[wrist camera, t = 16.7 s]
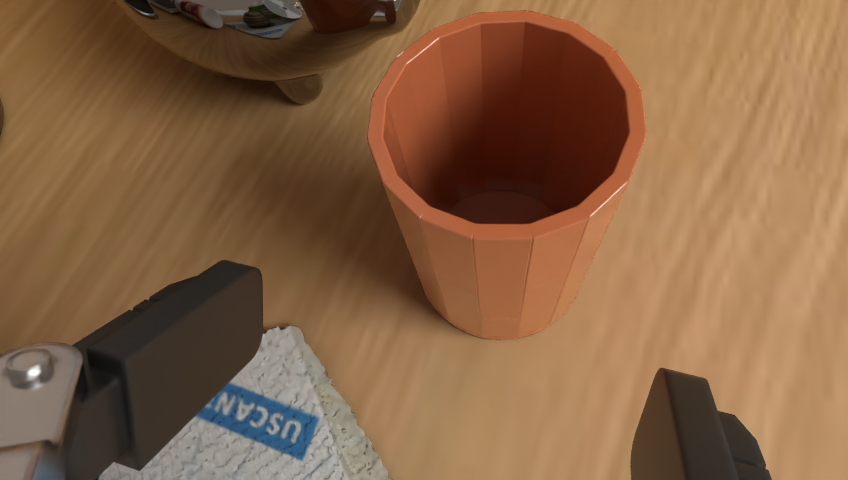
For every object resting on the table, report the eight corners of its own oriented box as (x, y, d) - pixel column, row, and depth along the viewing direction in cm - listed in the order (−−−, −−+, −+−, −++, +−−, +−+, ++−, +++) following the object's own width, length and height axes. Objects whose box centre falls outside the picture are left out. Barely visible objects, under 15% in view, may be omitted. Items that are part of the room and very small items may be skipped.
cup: (392, 300, 22) (320, 180, 13) (458, 169, 24) (437, -14, 15) (546, 368, 20) (588, 285, 11) (604, 221, 22) (680, 48, 13)
